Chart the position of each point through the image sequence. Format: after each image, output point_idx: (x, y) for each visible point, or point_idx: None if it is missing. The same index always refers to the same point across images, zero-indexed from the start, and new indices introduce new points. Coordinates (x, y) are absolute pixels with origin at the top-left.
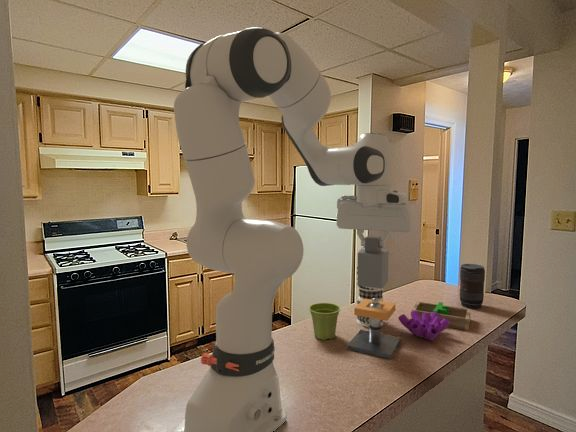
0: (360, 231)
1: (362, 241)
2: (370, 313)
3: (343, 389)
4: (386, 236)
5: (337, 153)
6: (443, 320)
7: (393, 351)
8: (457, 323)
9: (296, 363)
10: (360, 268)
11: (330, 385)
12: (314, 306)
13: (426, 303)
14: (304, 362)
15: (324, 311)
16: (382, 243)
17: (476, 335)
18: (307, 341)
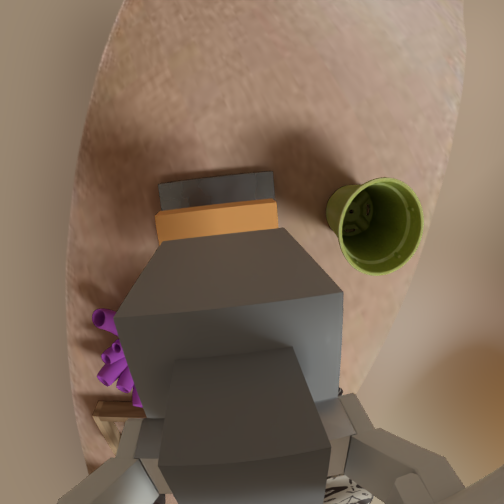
0: (416, 494)
1: (351, 421)
2: (215, 207)
3: (200, 15)
4: (76, 494)
5: None
6: (106, 376)
7: (161, 209)
8: (113, 408)
9: (334, 52)
10: (286, 253)
11: (229, 13)
12: (414, 237)
13: None
14: (323, 63)
15: (385, 254)
16: (134, 442)
17: (79, 386)
18: (370, 159)
